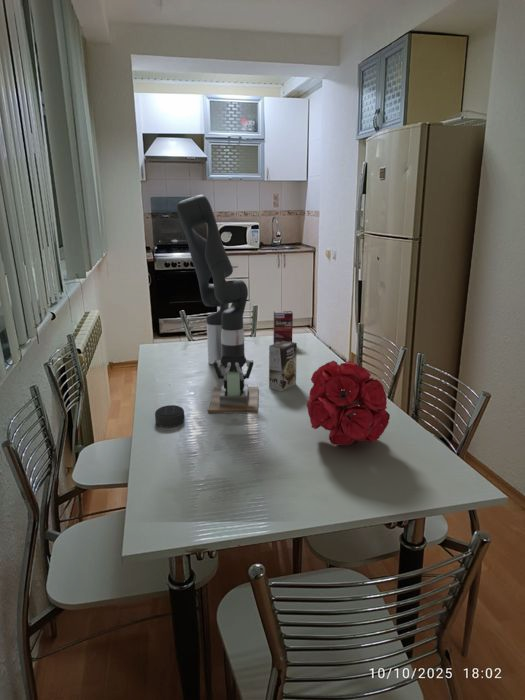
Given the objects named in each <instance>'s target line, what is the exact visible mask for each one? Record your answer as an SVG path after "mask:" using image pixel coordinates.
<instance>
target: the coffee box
mask: <svg viewBox="0 0 525 700" xmlns="http://www.w3.org/2000/svg"><path fill="white" fill-rule="evenodd" d="M297 345H298V344H297V342H293V341H292V342H288V341H281V342H278V343H276V344H274V343H273V344H271V345H269V346H268V350H269V353H268V388H269V389H273V390H276V391H280V392H284V391H286V390H287V389H289V388H292V387H294V386H295V385H297V356H298V355H297V354H298V353H297V351H298V349H297V347H298V346H297Z"/></svg>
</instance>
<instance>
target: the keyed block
mask: <svg viewBox="0 0 525 700" xmlns="http://www.w3.org/2000/svg"><path fill="white" fill-rule="evenodd" d="M240 393H241V390H240V375H239V373H238V371H229V373H227V394H228V396H240Z"/></svg>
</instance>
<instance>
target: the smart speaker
mask: <svg viewBox="0 0 525 700" xmlns="http://www.w3.org/2000/svg"><path fill="white" fill-rule="evenodd" d="M154 418H155V419H154V422H155V423H156V424H157V425H158V426H160V427H164V428H172V427H177V426H179V425H181V424H182V423H183V422H184V421H185V418H186V417H185V410H184V408H183V407H182V406H180V405H174V404H173V405H172V404H171V405H164V406H161V407H158V408H157V409H156V410H155V411H154Z"/></svg>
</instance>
